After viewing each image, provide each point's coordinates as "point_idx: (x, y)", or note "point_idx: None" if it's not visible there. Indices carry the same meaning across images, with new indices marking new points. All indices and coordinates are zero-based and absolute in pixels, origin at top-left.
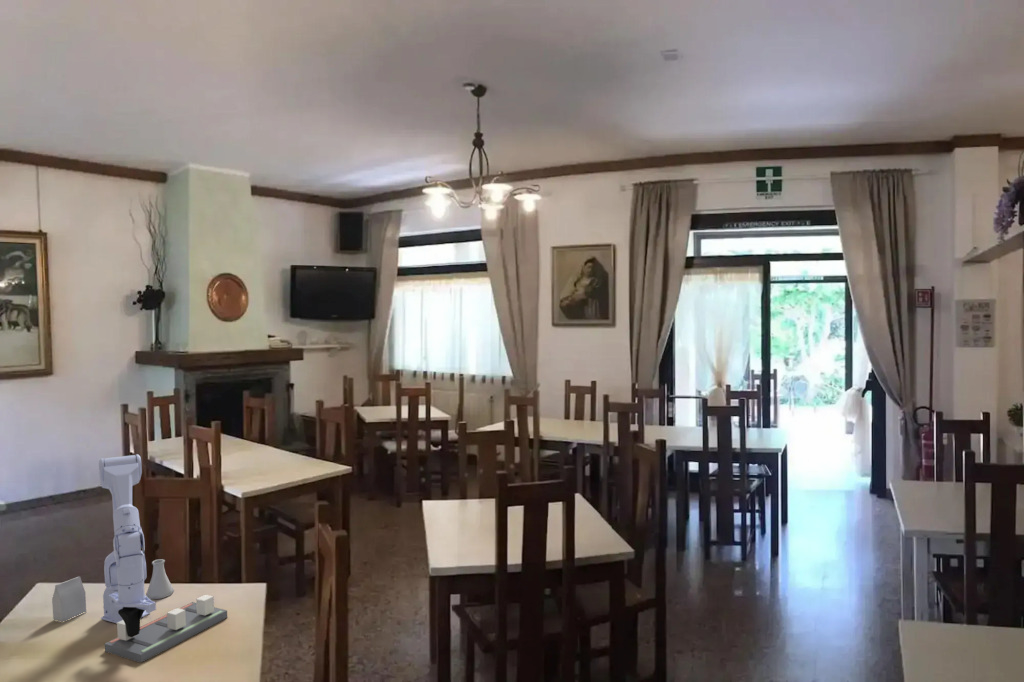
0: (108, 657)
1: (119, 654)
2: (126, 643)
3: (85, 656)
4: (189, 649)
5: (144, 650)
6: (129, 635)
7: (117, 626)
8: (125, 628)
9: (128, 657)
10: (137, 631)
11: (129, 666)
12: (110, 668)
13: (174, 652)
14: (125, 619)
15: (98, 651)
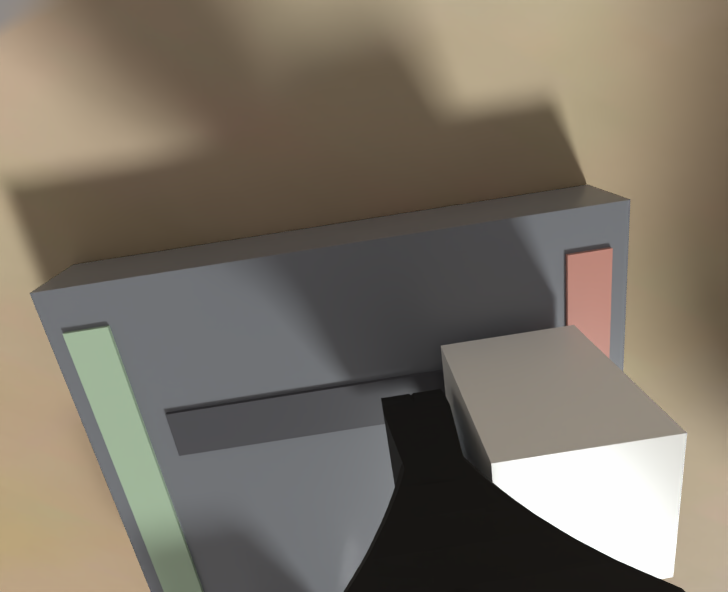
0: (447, 144)
1: (375, 220)
2: (416, 330)
3: (684, 16)
4: (16, 569)
5: (87, 355)
6: (415, 399)
7: (645, 400)
8: (477, 429)
9: (247, 241)
10: (394, 483)
11: (87, 167)
12: (197, 30)
13: (53, 495)
14: (459, 539)
15: (651, 152)
